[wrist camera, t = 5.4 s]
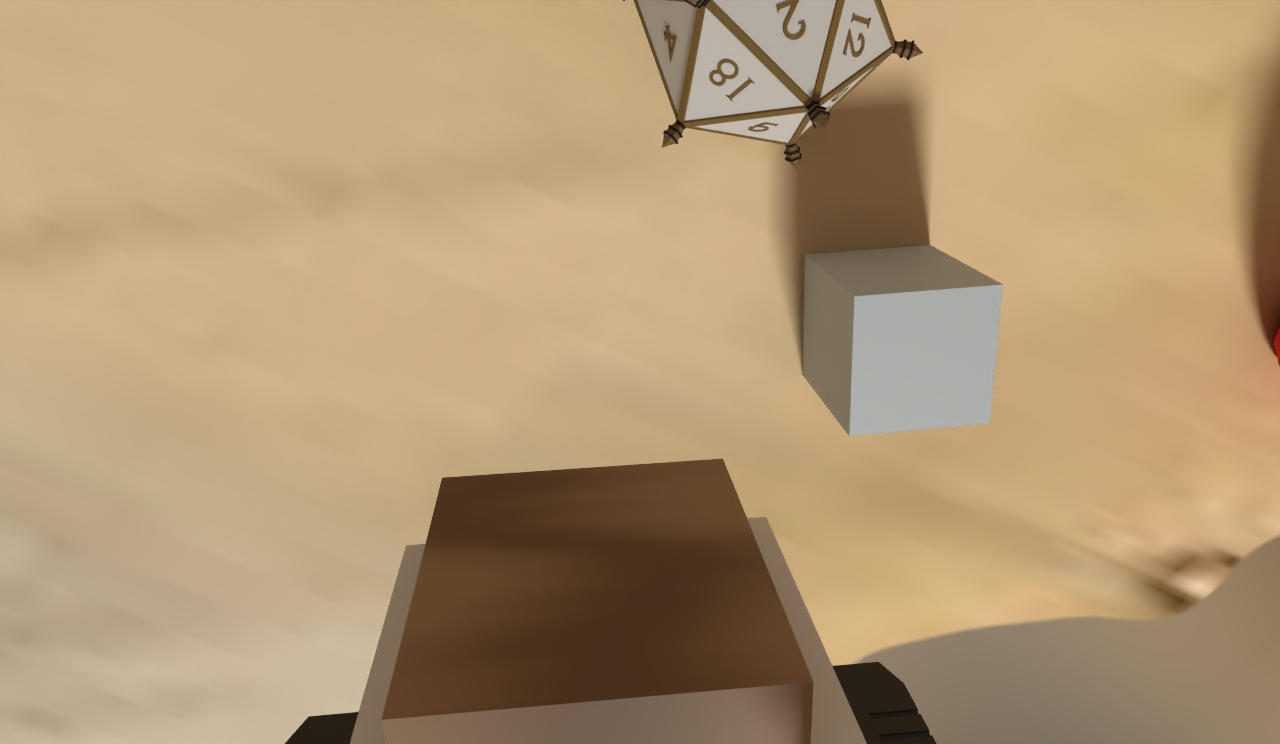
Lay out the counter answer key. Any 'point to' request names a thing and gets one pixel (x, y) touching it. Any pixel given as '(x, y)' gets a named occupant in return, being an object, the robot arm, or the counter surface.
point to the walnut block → (596, 616)
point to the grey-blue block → (900, 338)
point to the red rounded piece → (1277, 345)
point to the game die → (764, 62)
